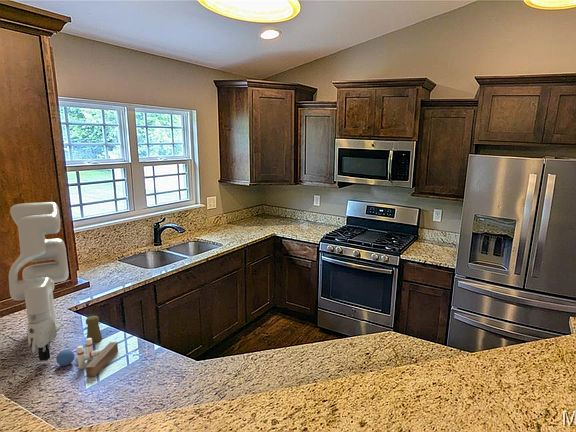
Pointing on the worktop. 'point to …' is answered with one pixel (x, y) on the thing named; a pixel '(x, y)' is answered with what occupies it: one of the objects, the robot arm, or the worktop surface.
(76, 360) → the front pin
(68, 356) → the ball
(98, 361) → the wall
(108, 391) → the worktop surface
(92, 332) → the cork
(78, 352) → the back right pin
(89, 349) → the back left pin
